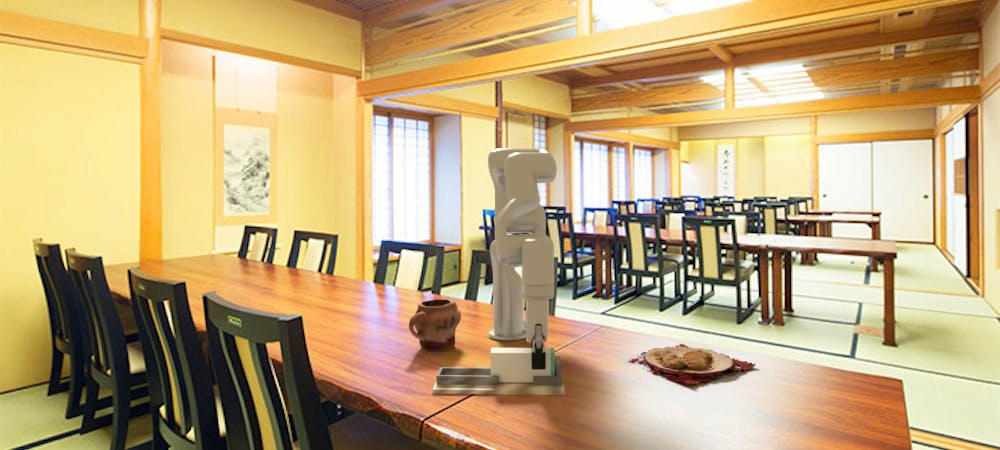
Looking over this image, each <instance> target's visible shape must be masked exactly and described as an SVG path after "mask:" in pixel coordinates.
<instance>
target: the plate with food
mask: <svg viewBox="0 0 1000 450" xmlns="http://www.w3.org/2000/svg"><path fill="white" fill-rule="evenodd" d="M636 356H637V358H634V359H633V358H632V359H630V360H628V361H627V363H631V364H636V363H638V365H643V366H644V367H647V368H649V369H646V372H649V373H651V374H652V375H658V376H661V375H663V373H664V377H667V379H668V380H670V381H672V382H676V383H678V382H679V383H682V384H685V385H686V386H688V385H692V386H693V385H697V386H698V385H699V383H701V382H703V383H706V384H707V383H709V382H710V381H711V380H714V379H715V380H716V379H718V378H720V377H721V378H725V377H726V376H725V375H723V374H721V373H722V372H724V371H727V370H731V371H730V372H729V376H732V375H736V374H742V372H741V371H747V370H749V369H753V368H754V367H755V366H756V365H757V363H752V362H748V361H747V360H745V361H743V360H739V359H738V358H734V357H732V358H731V357H730V356H729V355H726V354H724V353H722V352H717V351H714V350H712V349H707V348H700V347H691V346H688V345H686V344H685V343H679V344H678V345H677V344H676V345H675V346H666V347H655V348H652V349H648V351H643V352H642V353H640V356H639V354H637V355H636ZM642 357H643V360H640V359H642ZM644 367H643V368H642V369H643V370H645V368H644ZM736 367H737V368H736ZM662 372H663V373H662ZM718 374H719V375H718ZM675 375H677V376H678V377H677V376H675Z"/></svg>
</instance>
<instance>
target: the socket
mask: <svg viewBox="0 0 1000 450" xmlns="http://www.w3.org/2000/svg"><path fill="white" fill-rule="evenodd" d="M562 366H563V365H562V359H561V356H560V355H555V376H533V385H538V386H562V379H563V375H562V370H563V369H562Z"/></svg>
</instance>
